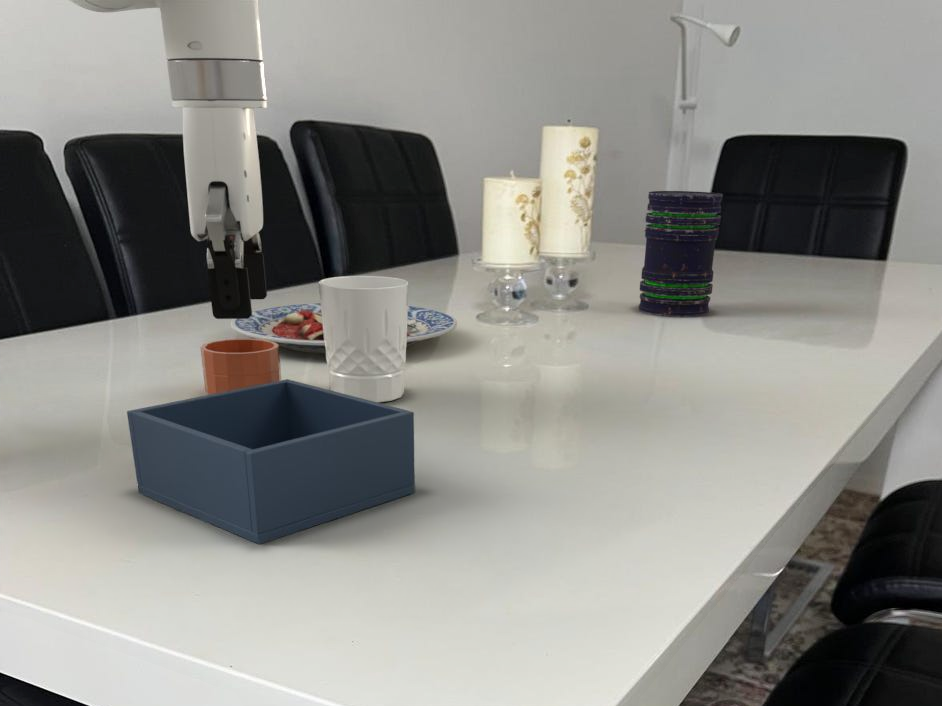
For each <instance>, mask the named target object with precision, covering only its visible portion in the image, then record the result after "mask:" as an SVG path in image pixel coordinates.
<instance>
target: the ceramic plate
mask: <svg viewBox="0 0 942 706" xmlns="http://www.w3.org/2000/svg"><path fill="white" fill-rule="evenodd" d="M457 326H458V321H457V319H456V318H455V317H453V316H452V315H450V314H447V313H445V312H442V311H438V310H434V309H430V308H426V307H425V308H424V307H421V306H413V305H408V315H407V343H406V348H407V347H410V346H413V345H415V344H417V343H418V342H420V341H424V340H428V339H433V338H437V337H441V336H443V335H446V334H448V333H451V332H453V330H455V329H456V328H457ZM230 327H231V329H232V330H233V331H235V332H236V333H238V334H239V335H242V336H245V337H250V338H251V339H261V340H268V341H272V342H275V343H277V344H278V345H279V347H281V348H285V349H289V350H293V351H298V352H303V353H305V352H306V353H314V354H323V355H326V348H325V343H324V335H323V324H322V313H321V303H320V302H317V303H316V302H315V303H312V302H311V303H299V304H288V305H287V304H286V305H280V306H274V307H272V306H271V307H267V308H261V309H256V310H255V309H254V310H252V315H251V317H250V318H248V319H231V321H230Z"/></svg>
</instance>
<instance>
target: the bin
mask: <svg viewBox="0 0 942 706" xmlns="http://www.w3.org/2000/svg"><path fill="white" fill-rule="evenodd" d="M126 416H127V422H128V429H129V435H130V442H131V449H132V456H133V465H134V470H135V477H136V478H135V479H136V484H137V491H138V494H140V495H142V496H145V497H147V498H150V499H151V500H154V501H156V502H158V503H161V504H163V505H166V506H168V507H169V508H172V509H175V510H177V511H181V512H182V513H185V514H186V515H189V516H191V517H194V518H197V519H199V520H201V521H203V522H206V523H208V524H210V525H212V526H215V527H218V528H220V529H223V530H225V531H227V532H229V533H231V534H232V533H233V534H234V535H237V536H239V537H241V538H244V539H246V540H248V541H251V542H253V543H256V544H258V545H261V544H264V543H266V542H269V541H273V540H276V539H279V538H282V537H284V536H285V537H286V536H288V535H292V534H294V533H298V532H300V531H303V530H307V529H309V528H313V527H315V526H318V525H322V524H324V523H327V522H330V521H334V520H337V519H340V518H342V517H345V516H348V515H351V514H355V513H358V512H361V511H364V510H367V509H369V508H372V507H375V506H378V505H382V504H385V503H388V502H391V501H394V500H397V499H400V498H403V497H406V496H409V495H411V494H415V492H416V485H415V484H416V483H415V478H416V477H415V412H414V411H411V410H408V409H404V408H400V407H396V406H392V405H388V404H385V403H382V402H379V403H377V402H373V401H369V400H366V399H362V398H358V397H354V396H350V395H346V394H343V393H339V392H335V391H331V390H330V389H327V388H323V387H320V386H317V385H316V386H315V385H313V384H312V385H311V384H307V383H304V382H300V381H296V380H292V379H288V378H286V379H281V381H276V382H271V383H266V384H261V385H256V386H251V387H246V388H241V389H236V390H231V391H226V392H221V393H216V394H206V395H201V396H196V397H190V398H186V399H180V400H176V401H171V402H165V403H160V404H157V405H151V406H147V407H141V408H135V409H130V410H127V411H126Z"/></svg>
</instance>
